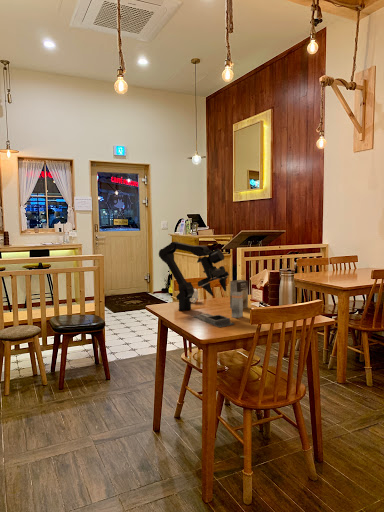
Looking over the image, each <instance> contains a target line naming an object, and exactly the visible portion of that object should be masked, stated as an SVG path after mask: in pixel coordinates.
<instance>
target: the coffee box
mask: <svg viewBox="0 0 384 512" xmlns="http://www.w3.org/2000/svg"><path fill="white" fill-rule="evenodd" d="M233 292H243V309H246V308H249V280H245V279H236V280H235V279H234V280H231V281H230V283H229V308H230V309H232V293H233Z"/></svg>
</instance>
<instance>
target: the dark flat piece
mask: <svg viewBox="0 0 384 512" xmlns="http://www.w3.org/2000/svg"><path fill="white" fill-rule="evenodd" d="M192 318H195V319H197V320H199V321H202V322H205V323H207V324H210V325H212V326H215V327H217V328H219V327H220V328H224V327H230V326H234V325H235V323H234V322H231V318H230V317H227V316H224V315H222V314H216V315H212V314H210V313H200V314H196V315H193V316H192Z"/></svg>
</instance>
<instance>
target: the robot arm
mask: <svg viewBox="0 0 384 512" xmlns="http://www.w3.org/2000/svg"><path fill="white" fill-rule="evenodd" d="M177 250H179V251H182V252H183V251H184V252H188V253H191V254H193V255H194V256H196V257H198V258H197V261H196V263H201V266H202V269H203V271H202V272H203V274H205V276H206V277H205V278H202V279H201V280H199V281H197V287H198V288H201V289H202V288H203V290H205V291H206V292H207V293H209V295H210V296H212V297H214V295H215V294H214V292H213V289H212V286H211V282H214V281H215V280H218V282H219V285H220V286H221V288H222V289H223V291H224V292H226V291H227V279H228V278H229V276H230V274H229V272H228V271H226V268H225V266H223V265H221V266H219V268H217V266H216V264H218V263H220V262H222V261H224V260H225V254H224V253H223V252H222V250H220V248H216V249H214V250H213V251H212V250H210V249H209V247H208V246H207V245H193V244H188V243H183V242H179V241H172V242H170V243H169V244H168V245H166V246H164V247H163V248H160V249H159V251H158V257H159V258H160V259H161V261H162V262H164V263H165V264H166V265H167V267H168V268H169V270H170V272H171V274H172V276H173V278H174V279H175V281H176V283H177V285H178V288H177V289H178V292H179V293H177V294H176V296H175V297H176V298H175V299H176V300H177V301H178V311H187V312H188V311H191V309H192V303H191V302H192V301H190V298H192V295H193V294H194V289H195V286H193V284H192V282H191V281H187V280H186V279H185V277H184V275H183V273H182V271H181V270H180V267H179V266H178V264H177V263H176V260H175V253H176V251H177Z"/></svg>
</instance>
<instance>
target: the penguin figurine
mask: <svg viewBox="0 0 384 512" xmlns="http://www.w3.org/2000/svg"><path fill="white" fill-rule="evenodd" d="M193 289H194V294H193V295H192V298H190V301H191V302H192V304H195V303H196V302H197V300H198V299H199V290H198V289H197V288H193Z"/></svg>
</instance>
